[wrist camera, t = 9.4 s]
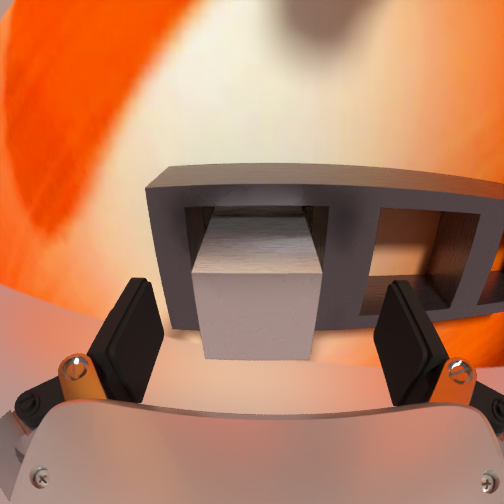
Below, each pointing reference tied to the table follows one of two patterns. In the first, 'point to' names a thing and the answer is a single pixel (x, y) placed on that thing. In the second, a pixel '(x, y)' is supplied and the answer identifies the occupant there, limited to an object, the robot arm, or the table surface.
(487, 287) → the dark grey compartment tray
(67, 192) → the table surface
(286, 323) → the light grey block
